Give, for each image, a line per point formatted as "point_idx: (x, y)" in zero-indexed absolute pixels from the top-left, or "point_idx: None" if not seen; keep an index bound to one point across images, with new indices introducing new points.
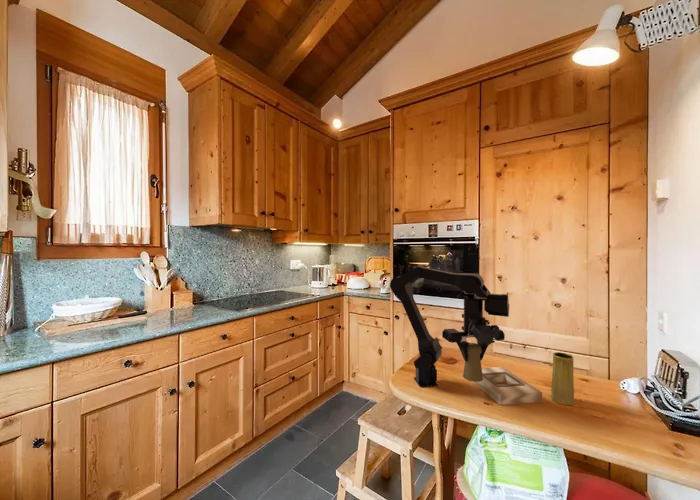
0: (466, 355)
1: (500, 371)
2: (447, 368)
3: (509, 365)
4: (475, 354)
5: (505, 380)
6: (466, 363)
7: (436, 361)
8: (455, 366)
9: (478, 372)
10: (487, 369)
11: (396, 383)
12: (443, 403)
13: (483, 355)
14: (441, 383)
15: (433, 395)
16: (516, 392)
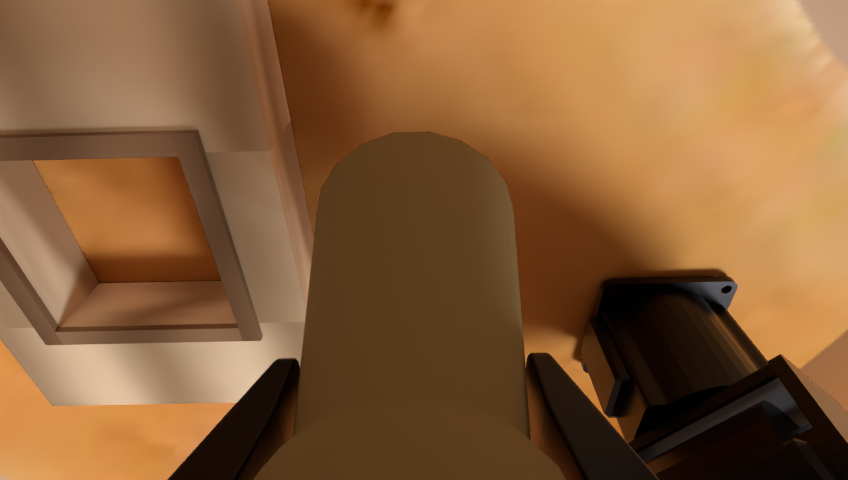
0: (585, 435)
1: (86, 355)
2: None
3: (13, 438)
4: (448, 425)
5: (86, 286)
6: (522, 332)
7: (754, 428)
8: None
9: (395, 192)
10: (180, 385)
11: (839, 328)
12: (740, 45)
13: (221, 425)
14: (552, 304)
15: (722, 170)
16: (23, 2)
